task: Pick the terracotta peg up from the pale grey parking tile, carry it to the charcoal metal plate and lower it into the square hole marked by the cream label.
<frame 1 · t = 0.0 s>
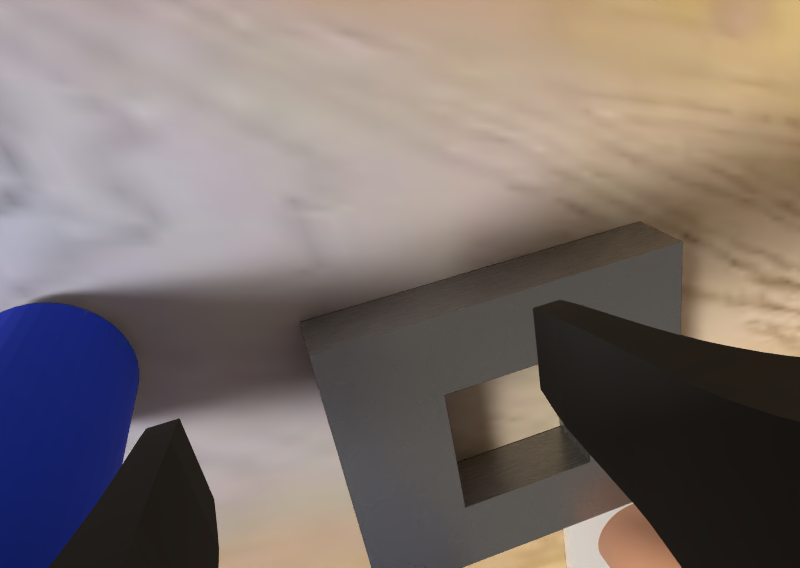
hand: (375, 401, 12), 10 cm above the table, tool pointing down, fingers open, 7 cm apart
hole plate: (496, 395, 26), on the table
beverage can: (58, 362, 21), on the table
peg: (633, 532, 31), point 1 cm above the table, touching parking tile
parking tile: (626, 523, 32), on the table
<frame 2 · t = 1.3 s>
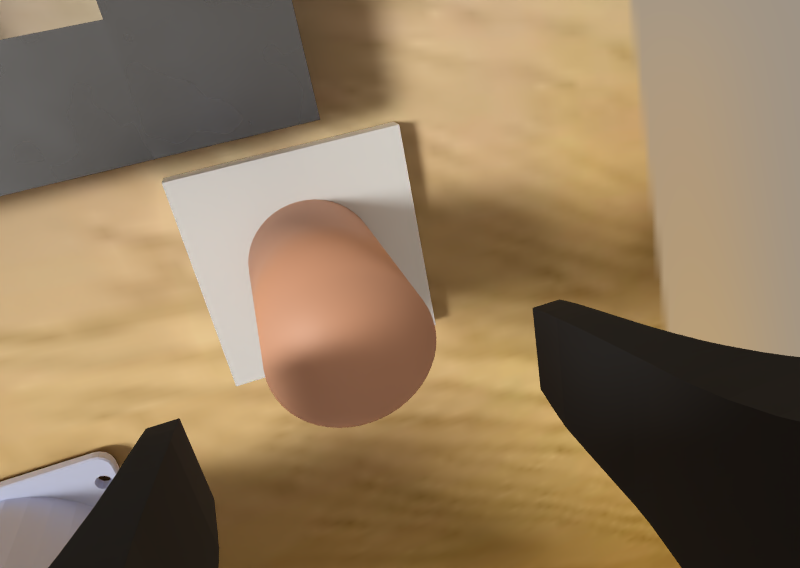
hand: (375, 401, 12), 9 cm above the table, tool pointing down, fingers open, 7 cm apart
peg: (313, 261, 19), point 1 cm above the table, touching parking tile
parking tile: (311, 255, 20), on the table
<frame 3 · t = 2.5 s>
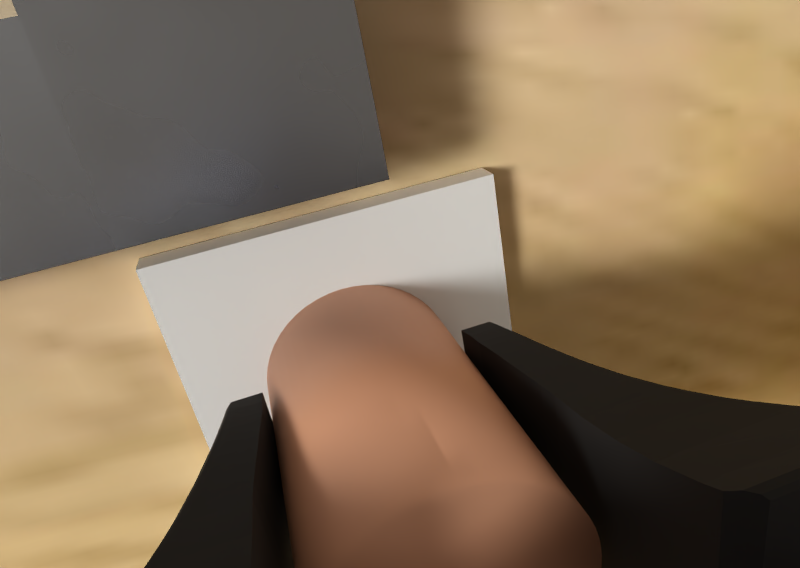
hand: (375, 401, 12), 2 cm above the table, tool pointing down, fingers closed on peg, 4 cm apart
peg: (361, 370, 13), point 1 cm above the table, touching gripper, parking tile
parking tile: (356, 357, 14), on the table
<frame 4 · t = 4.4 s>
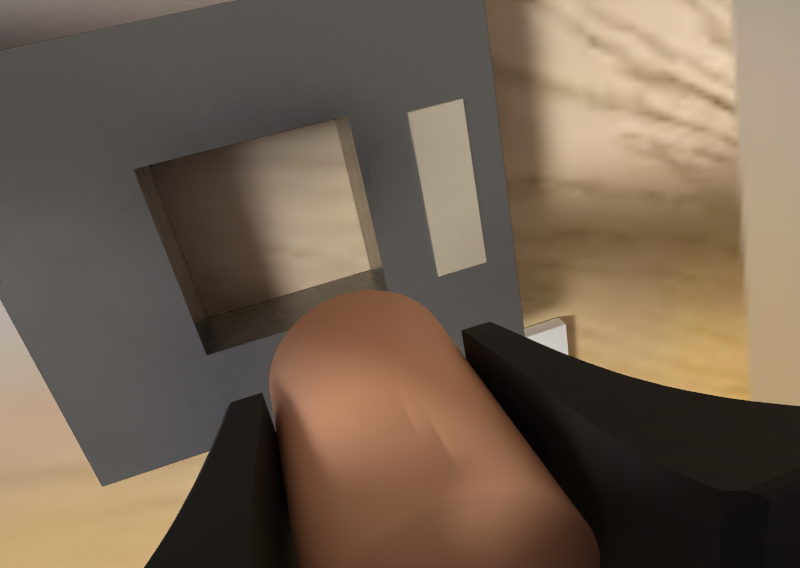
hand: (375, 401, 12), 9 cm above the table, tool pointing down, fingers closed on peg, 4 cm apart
hole plate: (267, 215, 19), on the table
peg: (363, 374, 13), point 8 cm above the table, touching gripper
parking tile: (486, 417, 25), on the table
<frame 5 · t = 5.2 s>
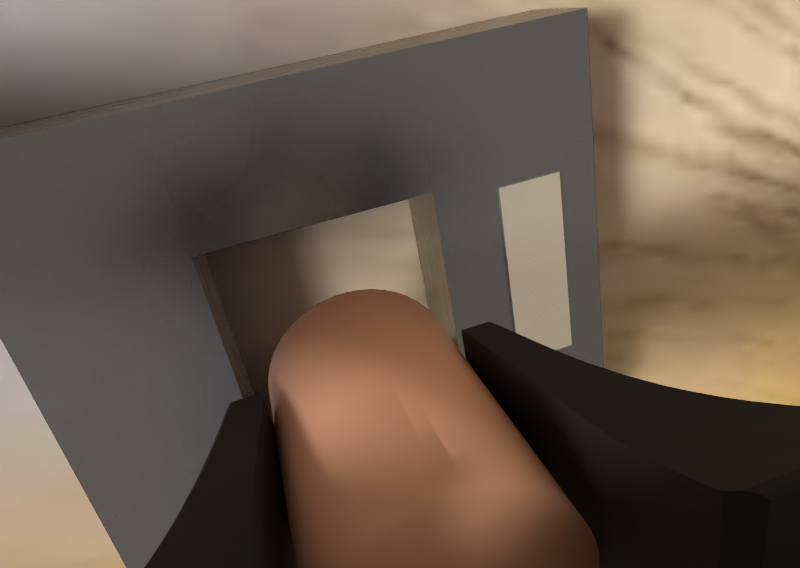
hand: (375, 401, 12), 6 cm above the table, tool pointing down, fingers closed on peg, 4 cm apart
hole plate: (326, 289, 17), on the table
peg: (362, 374, 13), point 5 cm above the table, touching gripper
when the fingers open (3 cm above the table, at t = 6.1 s): peg drops 2 cm, resting in hole plate.
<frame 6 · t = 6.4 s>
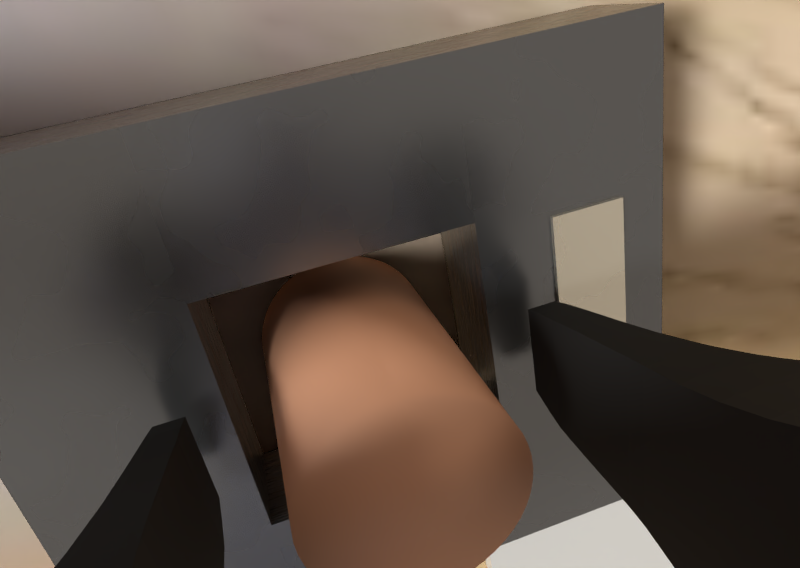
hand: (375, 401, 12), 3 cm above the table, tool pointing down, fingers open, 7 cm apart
hole plate: (344, 329, 15), on the table
peg: (345, 332, 15), resting in hole plate
parking tile: (585, 543, 21), on the table
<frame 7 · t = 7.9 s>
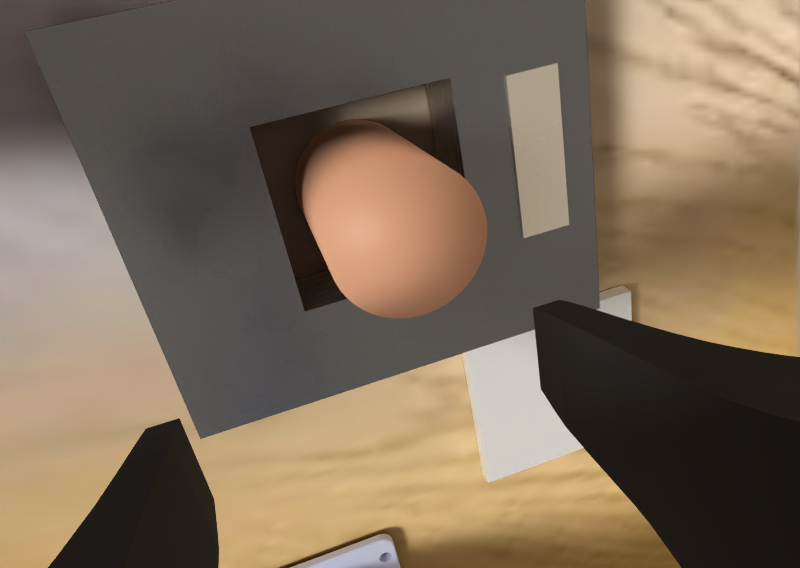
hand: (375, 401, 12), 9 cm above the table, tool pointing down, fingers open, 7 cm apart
hole plate: (356, 179, 20), on the table
peg: (357, 182, 20), resting in hole plate
parking tile: (549, 382, 25), on the table
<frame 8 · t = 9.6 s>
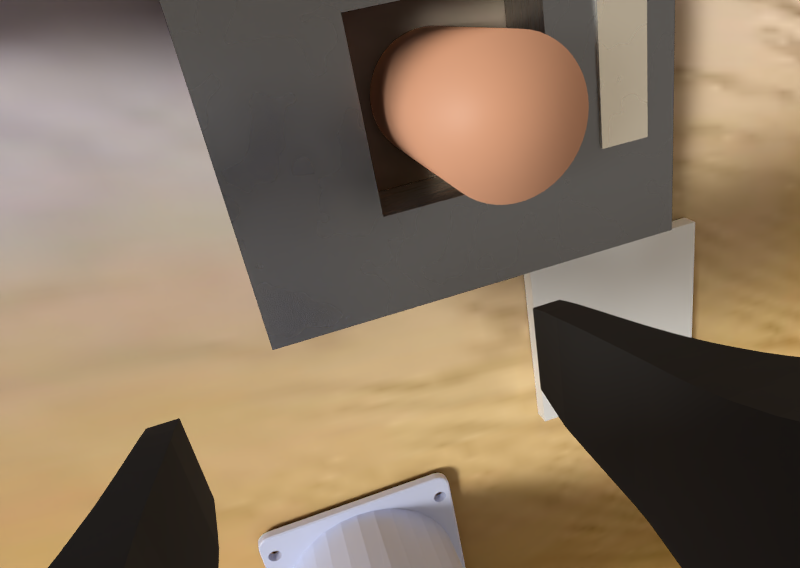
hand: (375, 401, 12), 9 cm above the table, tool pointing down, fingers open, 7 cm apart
hole plate: (430, 90, 19), on the table
peg: (431, 93, 20), resting in hole plate
parking tile: (608, 318, 25), on the table
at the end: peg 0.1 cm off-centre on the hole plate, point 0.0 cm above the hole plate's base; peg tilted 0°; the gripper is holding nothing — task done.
